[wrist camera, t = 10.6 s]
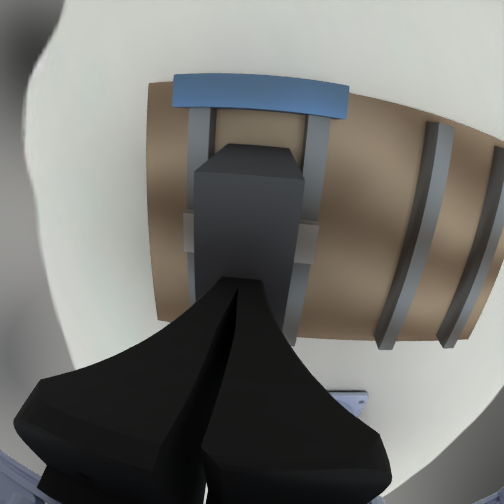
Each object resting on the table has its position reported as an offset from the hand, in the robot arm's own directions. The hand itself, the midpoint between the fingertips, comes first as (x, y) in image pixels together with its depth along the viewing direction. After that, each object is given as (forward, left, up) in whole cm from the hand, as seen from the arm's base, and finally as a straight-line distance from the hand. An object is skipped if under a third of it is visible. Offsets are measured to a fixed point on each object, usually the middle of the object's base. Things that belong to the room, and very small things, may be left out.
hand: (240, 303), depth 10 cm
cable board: (0, -6, -8) cm, 10 cm away
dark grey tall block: (0, 0, -7) cm, 7 cm away
